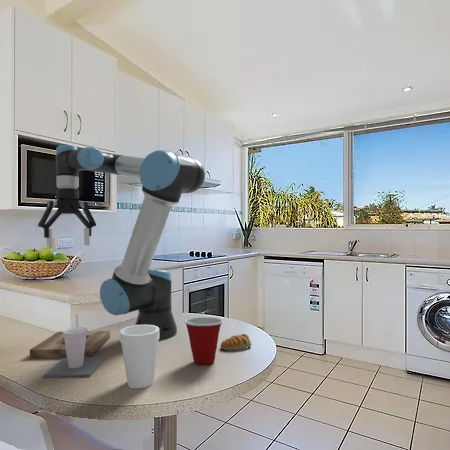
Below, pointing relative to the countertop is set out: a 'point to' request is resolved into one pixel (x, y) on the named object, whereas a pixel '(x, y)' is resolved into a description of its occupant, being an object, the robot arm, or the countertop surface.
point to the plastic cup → (203, 338)
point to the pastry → (236, 342)
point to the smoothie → (75, 345)
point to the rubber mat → (83, 371)
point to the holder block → (57, 349)
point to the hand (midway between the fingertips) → (68, 246)
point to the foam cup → (140, 354)
